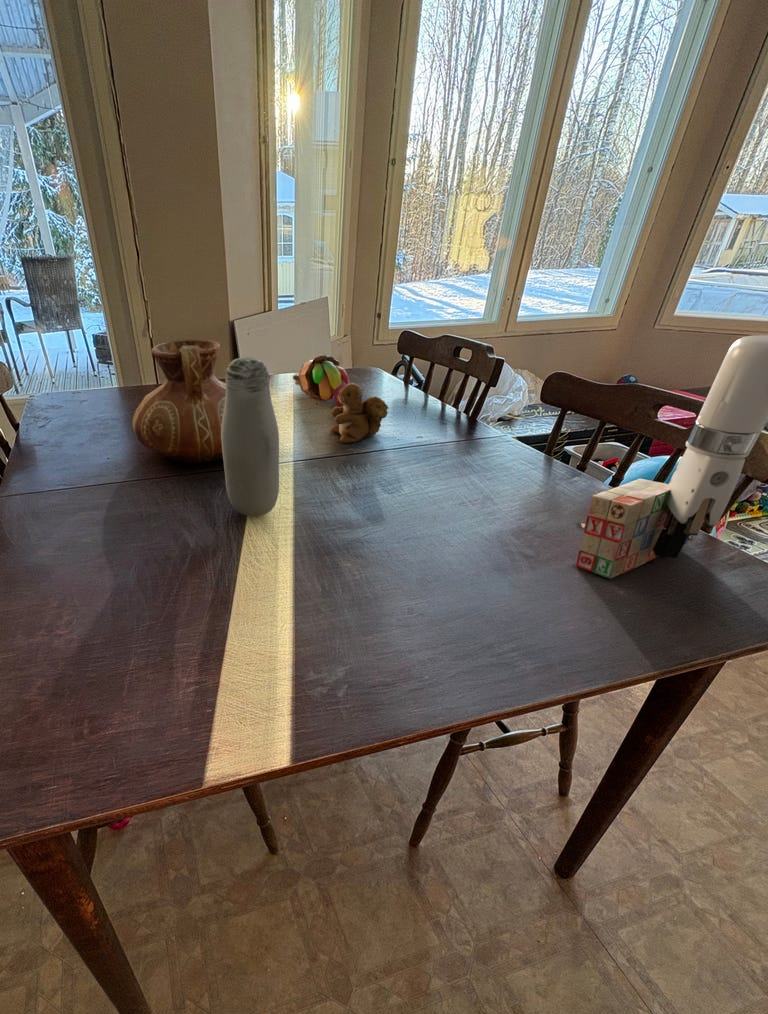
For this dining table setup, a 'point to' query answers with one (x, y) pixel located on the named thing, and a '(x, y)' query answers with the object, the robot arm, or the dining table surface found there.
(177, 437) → the jug
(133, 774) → the dining table surface
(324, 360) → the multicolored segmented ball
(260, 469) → the grey bottle
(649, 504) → the stack of blocks
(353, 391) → the stuffed squirrel
